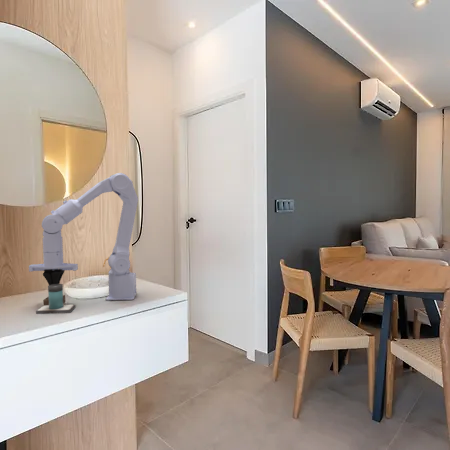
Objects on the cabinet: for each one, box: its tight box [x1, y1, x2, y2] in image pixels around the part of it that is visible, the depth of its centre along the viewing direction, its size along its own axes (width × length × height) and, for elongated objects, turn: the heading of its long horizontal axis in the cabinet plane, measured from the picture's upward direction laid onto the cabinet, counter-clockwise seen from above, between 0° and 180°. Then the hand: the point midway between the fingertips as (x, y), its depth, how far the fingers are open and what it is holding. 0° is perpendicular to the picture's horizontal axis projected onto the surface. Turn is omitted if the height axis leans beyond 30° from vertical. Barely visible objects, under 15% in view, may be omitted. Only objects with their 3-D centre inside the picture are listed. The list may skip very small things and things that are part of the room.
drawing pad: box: [35, 304, 77, 315], centre depth 103 cm, size 10×5×1 cm, turn 97°
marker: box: [47, 283, 64, 309], centre depth 102 cm, size 4×4×7 cm
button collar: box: [42, 294, 66, 306], centre depth 108 cm, size 5×5×2 cm
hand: (54, 292), depth 108 cm, fingers closed
